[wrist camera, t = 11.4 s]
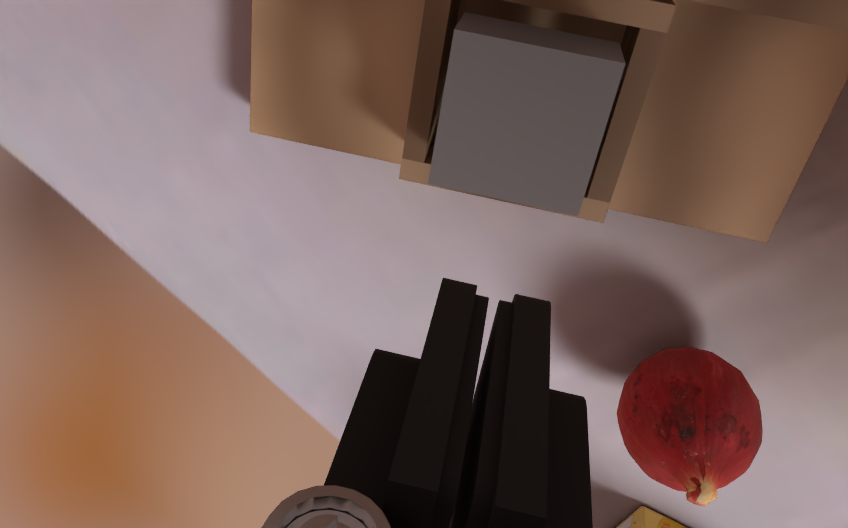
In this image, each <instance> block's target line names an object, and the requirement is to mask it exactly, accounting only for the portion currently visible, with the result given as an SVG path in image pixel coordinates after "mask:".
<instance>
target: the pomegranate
mask: <svg viewBox="0 0 848 528" xmlns="http://www.w3.org/2000/svg"><path fill="white" fill-rule="evenodd" d="M617 417H618V424H619V428H620V431H621V434H622V438H623V441H624V445H625V446H626V448H627V450H628V452H629V454H630V455H631V457H632V458H633V459H634V460H635V462H636V463H637V464H638V465H639V466H640V468H641V469H642V470H643V471H644V472H645V473H646V474H647V475H648V476H649V477H650V478H652V479H654V480H656V481H657V482H659V483H662V484H664V485H666V486H668V487H670V488H672V489H675V490H678V491H685V492H687V494H686V497H687V500H688V501H690V502H692V503H694V504H697V505H700V506H706V505H707V504H708V503H709V502H710V501H712V500H714V499H716V498H717V489H718V488H721V487H724V486H726V485H728V484H729V483H731V482H732V481H734V480H735V479H736V478H738V477H739V476H741V475H742V474H744V473H745V472H746V470H747V469H748V468H749V467H750V465H751V463H752V461H753V459H754V457H755V456H756V454H757V452H758V450H759V447H760V445H761V443H762V419H761V411H760V405H759V400H758V399H757V397H756V395H755V394H754V392H753V390H752V389H751V387H750V385H749V384H748V382H747V380H746V379H745V377H744V375H743V374H742V372H741V371H740V370H738V369H737V368H735V367H734V366H732V365H731V364H729V363H728V362H726V361H725V360H723V359H722V358H720V357H719V356H717V355H716V354H714V353H712V352H709V351H705V350H701V349H697V348H693V347H679V348H669V349H663V350H661V351H659V352H657V353H655V354H654V355H652V356H650V357H648V358H646V359H644V360H643V361H642V362H641V363H640V364H639V365H638V366H637V368H636V369H635V370H634V371H633V372H632V374H631V375H630V376H629V377H628V379H627V380H626V381H625V383H624V387H623V390H622V394H621V397H620V401H619V405H618V410H617Z"/></svg>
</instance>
